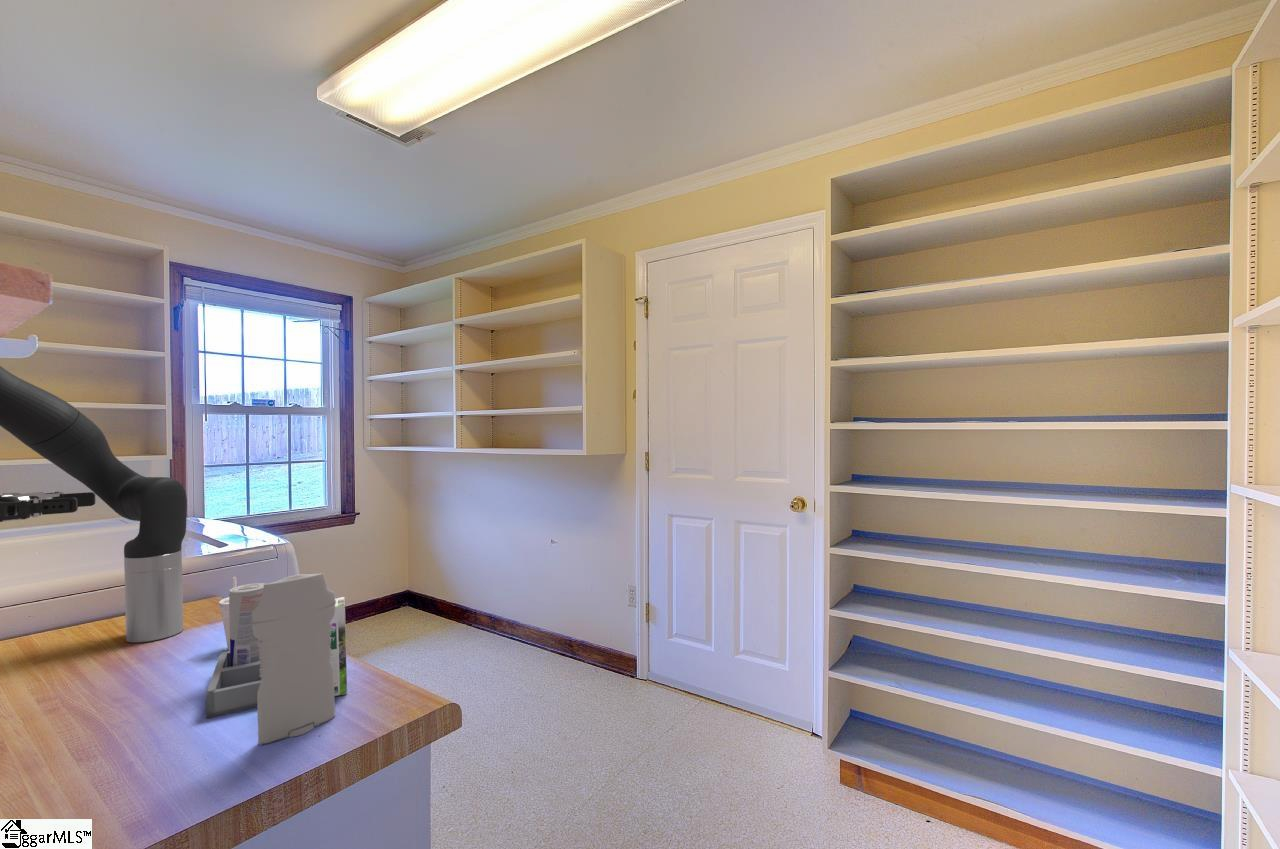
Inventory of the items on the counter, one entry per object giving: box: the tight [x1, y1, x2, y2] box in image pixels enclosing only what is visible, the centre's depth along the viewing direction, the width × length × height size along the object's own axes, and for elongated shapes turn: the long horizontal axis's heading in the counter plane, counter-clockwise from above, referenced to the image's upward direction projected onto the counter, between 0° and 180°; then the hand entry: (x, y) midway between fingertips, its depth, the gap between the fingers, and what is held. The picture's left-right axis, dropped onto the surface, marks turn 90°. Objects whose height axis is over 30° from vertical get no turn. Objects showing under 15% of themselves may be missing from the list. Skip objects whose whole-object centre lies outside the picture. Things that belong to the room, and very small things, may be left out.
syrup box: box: [330, 596, 348, 697], centre depth 93 cm, size 6×6×14 cm
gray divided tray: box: [205, 650, 261, 719], centre depth 95 cm, size 18×10×4 cm, turn 31°
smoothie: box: [218, 576, 238, 651], centre depth 112 cm, size 6×6×14 cm
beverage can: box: [228, 582, 267, 667], centre depth 99 cm, size 6×6×15 cm
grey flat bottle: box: [252, 572, 336, 746], centre depth 81 cm, size 11×4×22 cm, turn 139°
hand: (86, 501), depth 90 cm, fingers open, 8 cm apart
